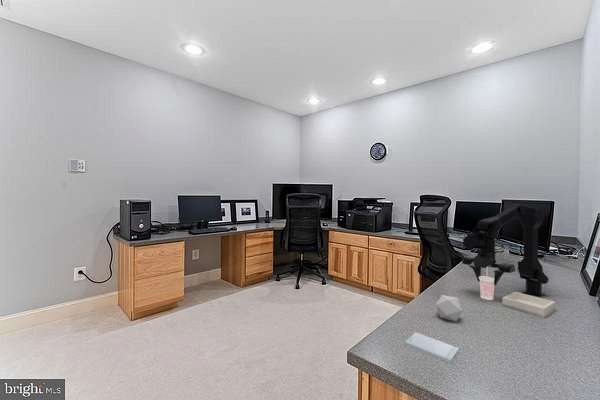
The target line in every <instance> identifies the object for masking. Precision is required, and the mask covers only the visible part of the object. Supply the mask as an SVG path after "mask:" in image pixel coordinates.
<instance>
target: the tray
mask: <svg viewBox="0 0 600 400" xmlns="http://www.w3.org/2000/svg"><path fill="white" fill-rule="evenodd" d="M502 307H504V308H508V309H511V310H515V311H517V312H518V311H519V312H522V313H525V314H528V315H532V316H534V317H539V318H542V319H545V318H547V317H548V316H550V315H551V314H553V313H554V312H555V311H556V301H553V300H550V299H545V298H542V297H538V296H534V295H530V294H526V293H522V292H518V291H514V292H512V293H510V294H507V295H504V296H503V297H502Z"/></svg>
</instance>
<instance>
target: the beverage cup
mask: <svg viewBox="0 0 600 400" xmlns="http://www.w3.org/2000/svg"><path fill="white" fill-rule="evenodd" d="M488 272H489V267H488V266H487V267H486V274H485V275H481V276H479V279H480V282H479V287H480V288H479V292H480V298H481V299H483V300H487V301H493V300H494V295H495V294H494V293H495V292H494V291H495V285H494V277H491V276H489V273H488Z"/></svg>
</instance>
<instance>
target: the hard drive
mask: <svg viewBox="0 0 600 400" xmlns="http://www.w3.org/2000/svg"><path fill="white" fill-rule="evenodd" d="M404 345H405V346H407V347H409V348H412V349H415V350H417V351H419V352H422V353H424V354H427V355H429V356H431V357H434V358H437V359H439V360H441V361H444V362H447V363H449V364H452V363H453V361H454V360H455V358H456V357H457V356H458V354H459V353H460V351H461V349H460V347H456V346H453V345H451V344H449V343H446V342H443V341H441V340H437V339H435V338H432V337H429V336H426V335H424V334H422V333H419V332H416V331H415V332H414V333H413V334H412V335H411V336H410V337H409V338H408V339H406V340H405V342H404Z"/></svg>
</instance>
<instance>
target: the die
mask: <svg viewBox="0 0 600 400" xmlns="http://www.w3.org/2000/svg"><path fill="white" fill-rule="evenodd" d="M435 307H436V309H437V312H438V314H439V317H440V318H441V319H444V320H448V321H452V322H458V320H459V318H460V316H461V315H462V313H463V309H462V305H461V303H460V301H459V299H458V297H456V296H449V295H446V294H445V295H444V294H442V295H441V296H440V297H439V299H438V300H437V302H436V303H435Z"/></svg>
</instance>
